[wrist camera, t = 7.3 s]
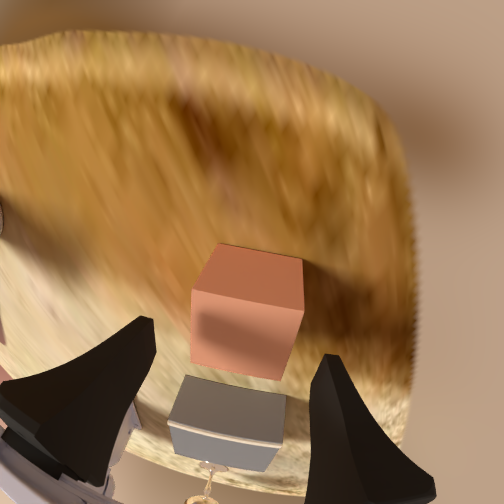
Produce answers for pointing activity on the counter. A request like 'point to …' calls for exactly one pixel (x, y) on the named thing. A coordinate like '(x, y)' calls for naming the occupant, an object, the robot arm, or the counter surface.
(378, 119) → the counter surface
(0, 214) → the energy drink
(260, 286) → the salmon pink cube
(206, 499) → the wineglass
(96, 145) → the counter surface
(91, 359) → the robot arm
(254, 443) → the block
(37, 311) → the counter surface
